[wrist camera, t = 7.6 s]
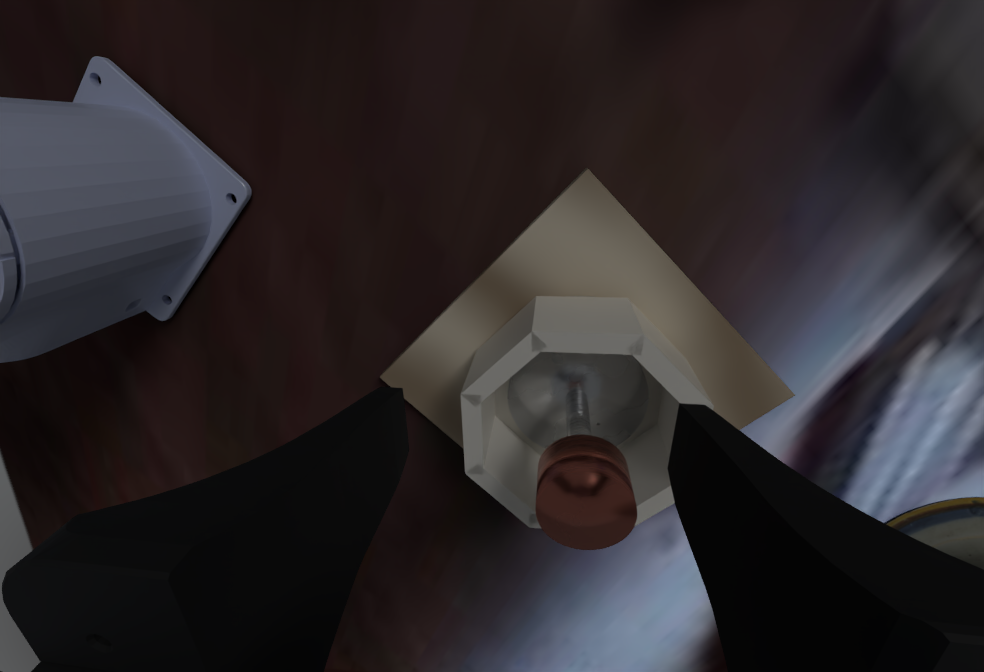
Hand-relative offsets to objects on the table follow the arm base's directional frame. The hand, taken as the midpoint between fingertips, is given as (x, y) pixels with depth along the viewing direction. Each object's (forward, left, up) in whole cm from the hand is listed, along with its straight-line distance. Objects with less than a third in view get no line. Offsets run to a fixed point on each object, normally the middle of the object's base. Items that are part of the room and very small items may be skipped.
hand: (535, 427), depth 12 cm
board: (-2, -4, -10) cm, 11 cm away
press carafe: (-2, -4, -10) cm, 11 cm away
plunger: (-2, -4, -9) cm, 10 cm away
